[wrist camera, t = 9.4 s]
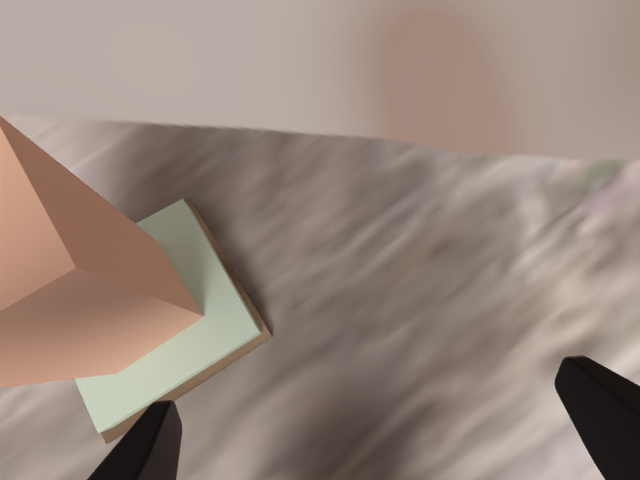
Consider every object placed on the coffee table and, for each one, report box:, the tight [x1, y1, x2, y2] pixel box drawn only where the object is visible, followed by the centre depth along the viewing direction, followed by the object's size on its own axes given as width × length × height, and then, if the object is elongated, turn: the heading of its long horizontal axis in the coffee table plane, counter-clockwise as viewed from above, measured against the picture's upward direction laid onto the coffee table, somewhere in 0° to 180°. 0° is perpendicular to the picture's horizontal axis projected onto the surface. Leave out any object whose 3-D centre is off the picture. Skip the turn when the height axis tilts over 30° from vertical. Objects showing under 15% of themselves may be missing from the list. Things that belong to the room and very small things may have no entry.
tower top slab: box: [75, 199, 262, 433], centre depth 21 cm, size 9×9×2 cm
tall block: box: [0, 116, 204, 387], centre depth 14 cm, size 5×5×12 cm
